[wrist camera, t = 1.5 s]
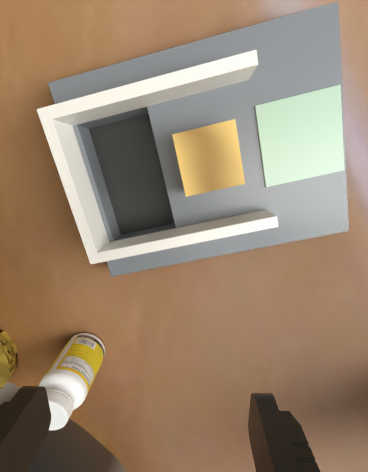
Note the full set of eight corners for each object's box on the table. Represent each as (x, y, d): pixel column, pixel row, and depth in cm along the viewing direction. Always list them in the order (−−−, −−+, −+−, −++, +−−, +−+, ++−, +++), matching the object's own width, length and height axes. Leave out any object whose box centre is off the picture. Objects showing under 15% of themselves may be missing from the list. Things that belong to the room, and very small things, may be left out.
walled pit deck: (320, 21, 23) (367, -33, 17) (333, 224, 28) (372, 240, 22) (64, 92, 26) (22, 68, 19) (119, 266, 31) (100, 291, 24)
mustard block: (227, 127, 23) (235, 119, 19) (236, 180, 24) (245, 183, 20) (176, 140, 24) (172, 134, 19) (187, 191, 25) (185, 196, 21)
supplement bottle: (79, 367, 35) (38, 440, 26) (61, 337, 34) (11, 403, 25) (113, 357, 35) (82, 428, 25) (95, 326, 33) (57, 389, 24)
